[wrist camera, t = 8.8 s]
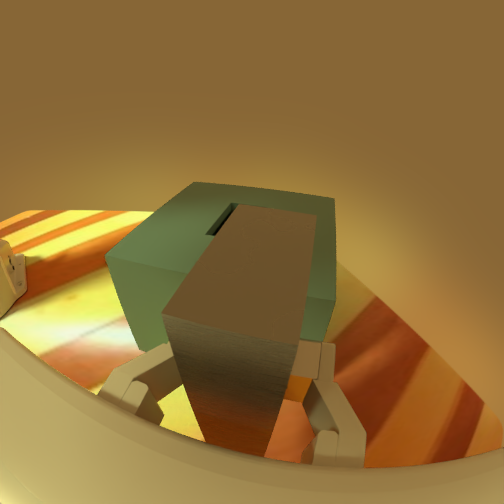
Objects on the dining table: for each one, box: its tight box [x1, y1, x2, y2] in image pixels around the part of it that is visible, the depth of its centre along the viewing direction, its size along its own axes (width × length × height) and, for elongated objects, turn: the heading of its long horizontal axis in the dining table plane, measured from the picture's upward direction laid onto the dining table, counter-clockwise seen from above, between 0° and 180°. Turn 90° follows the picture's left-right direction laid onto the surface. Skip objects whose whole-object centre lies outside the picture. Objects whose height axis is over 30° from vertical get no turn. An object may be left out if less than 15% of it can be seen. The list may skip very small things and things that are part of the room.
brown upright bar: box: [161, 204, 317, 457], centre depth 9 cm, size 5×2×10 cm, turn 166°
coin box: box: [105, 182, 336, 352], centre depth 33 cm, size 20×20×14 cm
